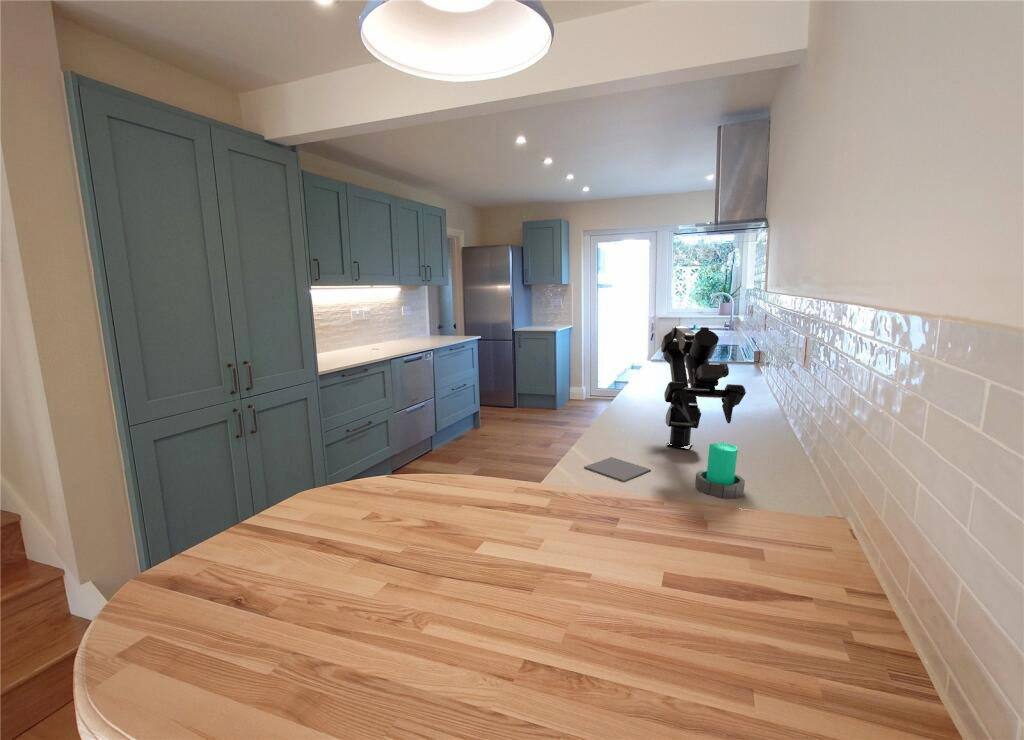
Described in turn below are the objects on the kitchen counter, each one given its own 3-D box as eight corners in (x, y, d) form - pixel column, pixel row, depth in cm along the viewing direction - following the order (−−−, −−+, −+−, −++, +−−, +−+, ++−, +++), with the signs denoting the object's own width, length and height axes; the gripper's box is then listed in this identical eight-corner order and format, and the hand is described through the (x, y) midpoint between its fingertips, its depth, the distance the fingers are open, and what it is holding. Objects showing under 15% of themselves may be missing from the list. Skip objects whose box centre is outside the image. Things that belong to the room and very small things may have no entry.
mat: (611, 458, 131) (611, 457, 131) (650, 470, 123) (650, 469, 123) (584, 468, 123) (584, 466, 123) (624, 482, 115) (624, 480, 114)
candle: (727, 485, 114) (733, 436, 113) (737, 495, 109) (742, 444, 107) (701, 483, 115) (706, 435, 113) (709, 494, 109) (714, 442, 107)
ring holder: (699, 478, 119) (700, 466, 118) (745, 487, 114) (746, 475, 113) (691, 491, 110) (692, 479, 110) (740, 502, 105) (742, 489, 104)
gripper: (670, 350, 122) (679, 401, 112) (746, 353, 120) (762, 404, 111) (660, 376, 130) (668, 426, 121) (731, 379, 129) (744, 430, 120)
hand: (710, 421), depth 118 cm, fingers open, 9 cm apart
